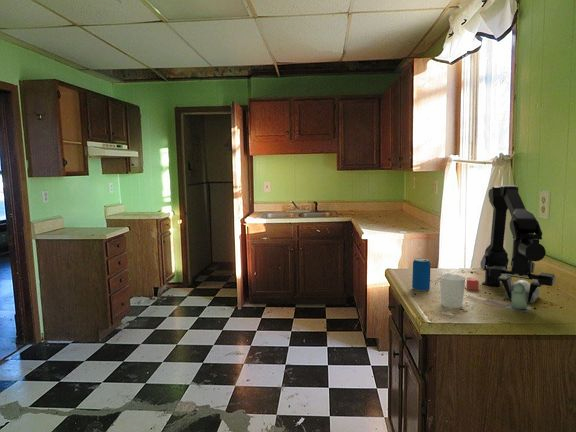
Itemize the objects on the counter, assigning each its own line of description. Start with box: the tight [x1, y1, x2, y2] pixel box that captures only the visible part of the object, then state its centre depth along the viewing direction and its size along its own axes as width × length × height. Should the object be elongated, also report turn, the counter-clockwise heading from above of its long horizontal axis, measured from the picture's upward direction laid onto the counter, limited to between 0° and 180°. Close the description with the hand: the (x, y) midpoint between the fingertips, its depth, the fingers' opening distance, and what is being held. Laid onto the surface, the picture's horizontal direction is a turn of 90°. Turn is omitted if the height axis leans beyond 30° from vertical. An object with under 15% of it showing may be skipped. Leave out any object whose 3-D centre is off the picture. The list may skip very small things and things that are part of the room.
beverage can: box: [411, 257, 432, 292], centre depth 160 cm, size 6×6×12 cm
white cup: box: [439, 273, 466, 309], centre depth 142 cm, size 8×8×10 cm
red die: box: [466, 277, 480, 292], centre depth 160 cm, size 4×4×4 cm
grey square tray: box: [504, 282, 540, 304], centre depth 149 cm, size 9×9×4 cm
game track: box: [463, 294, 533, 313], centre depth 143 cm, size 6×20×1 cm, turn 49°
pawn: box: [510, 283, 528, 309], centre depth 138 cm, size 4×4×8 cm
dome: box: [513, 279, 531, 291], centre depth 149 cm, size 6×6×6 cm
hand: (519, 300), depth 138 cm, fingers open, 5 cm apart
